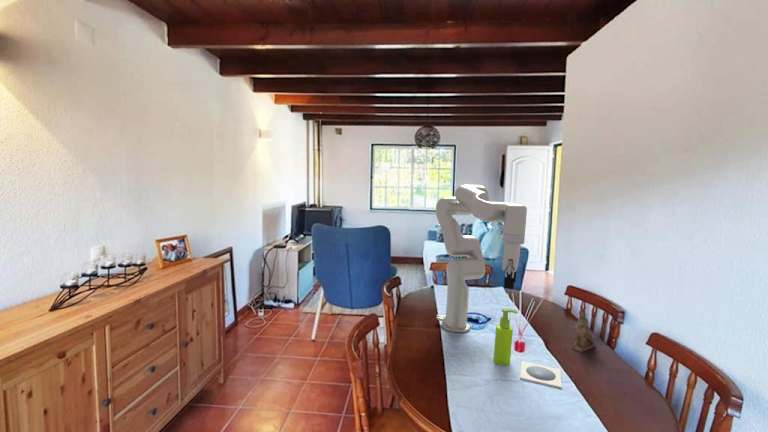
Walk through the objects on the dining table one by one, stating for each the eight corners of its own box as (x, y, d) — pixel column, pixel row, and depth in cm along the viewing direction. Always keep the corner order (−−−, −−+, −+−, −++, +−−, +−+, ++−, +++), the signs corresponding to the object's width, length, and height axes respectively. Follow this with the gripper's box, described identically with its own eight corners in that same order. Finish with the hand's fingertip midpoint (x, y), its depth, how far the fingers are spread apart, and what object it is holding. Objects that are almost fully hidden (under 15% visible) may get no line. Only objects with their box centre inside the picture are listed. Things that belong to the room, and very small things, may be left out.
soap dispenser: (513, 366, 139) (518, 313, 137) (494, 363, 140) (498, 311, 138) (511, 359, 145) (516, 307, 143) (492, 356, 146) (496, 305, 144)
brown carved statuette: (580, 358, 154) (580, 317, 150) (568, 352, 159) (567, 312, 155) (597, 346, 160) (597, 307, 156) (585, 341, 165) (584, 302, 161)
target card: (519, 379, 130) (519, 377, 130) (521, 362, 142) (522, 360, 142) (561, 388, 125) (561, 386, 125) (560, 370, 137) (560, 369, 137)
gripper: (504, 234, 147) (501, 278, 149) (499, 240, 131) (496, 289, 133) (525, 236, 144) (522, 281, 146) (523, 243, 128) (519, 292, 130)
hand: (509, 285), depth 139 cm, fingers open, 9 cm apart
